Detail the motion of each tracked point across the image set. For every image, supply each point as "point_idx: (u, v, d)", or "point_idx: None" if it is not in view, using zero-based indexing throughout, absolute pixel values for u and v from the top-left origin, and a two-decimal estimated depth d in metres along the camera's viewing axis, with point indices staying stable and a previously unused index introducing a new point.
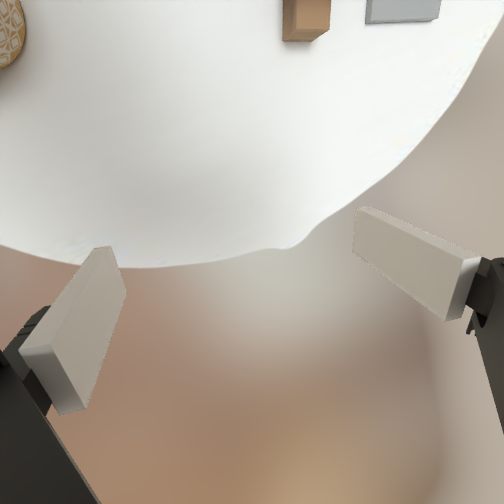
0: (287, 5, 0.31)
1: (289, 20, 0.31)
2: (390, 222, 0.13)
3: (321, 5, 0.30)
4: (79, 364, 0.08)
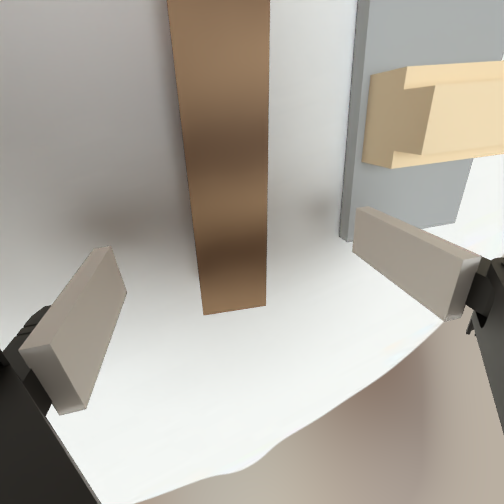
0: None
1: None
2: (390, 222, 0.13)
3: (248, 280, 0.16)
4: (79, 364, 0.08)
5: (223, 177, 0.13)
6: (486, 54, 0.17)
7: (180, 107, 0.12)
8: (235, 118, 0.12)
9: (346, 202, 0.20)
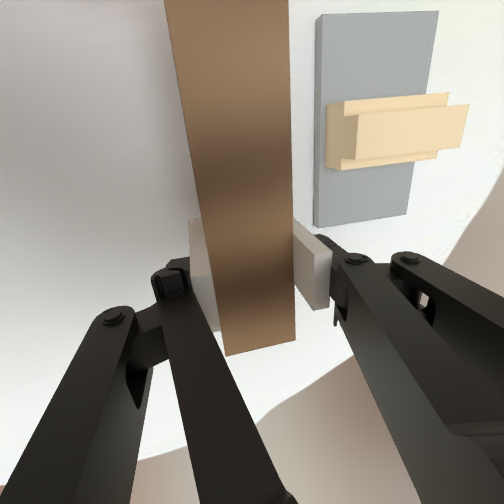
0: None
1: None
2: None
3: (274, 314, 0.14)
4: None
5: (241, 202, 0.11)
6: (412, 88, 0.24)
7: (187, 125, 0.10)
8: (252, 133, 0.10)
9: (316, 197, 0.26)
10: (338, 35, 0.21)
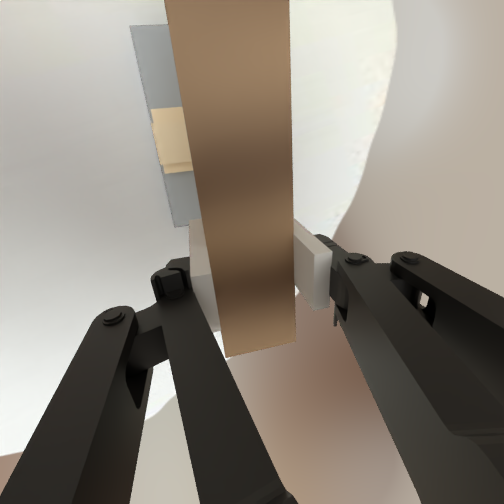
0: None
1: None
2: None
3: (275, 315, 0.14)
4: None
5: (241, 203, 0.11)
6: None
7: (187, 126, 0.10)
8: (253, 134, 0.10)
9: None
10: (150, 45, 0.22)
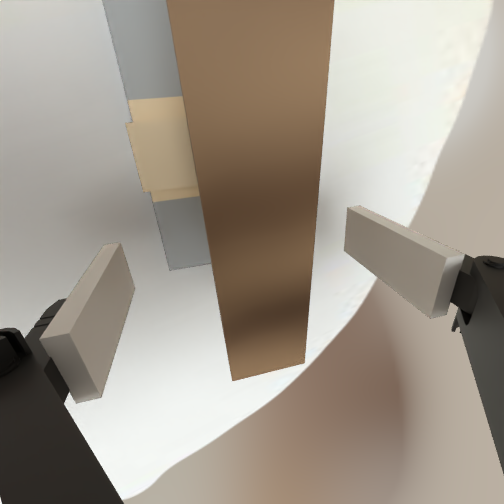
0: None
1: (223, 330, 0.15)
2: (379, 221, 0.13)
3: (285, 342, 0.13)
4: (94, 354, 0.09)
5: (256, 239, 0.10)
6: None
7: (195, 158, 0.08)
8: (274, 164, 0.08)
9: None
10: None
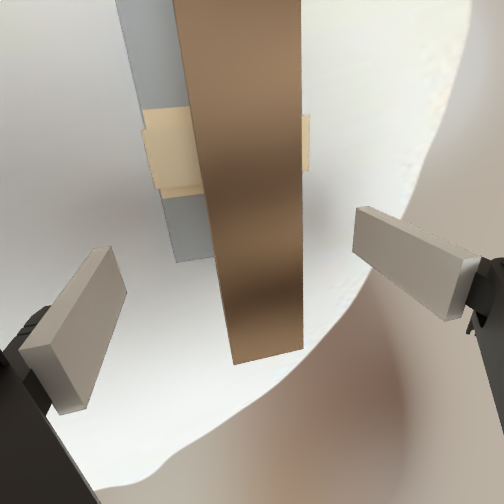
0: (220, 289, 0.16)
1: (225, 318, 0.16)
2: (390, 222, 0.13)
3: (282, 323, 0.14)
4: (79, 364, 0.08)
5: (251, 214, 0.11)
6: None
7: (198, 139, 0.10)
8: (263, 146, 0.10)
9: None
10: (143, 21, 0.16)
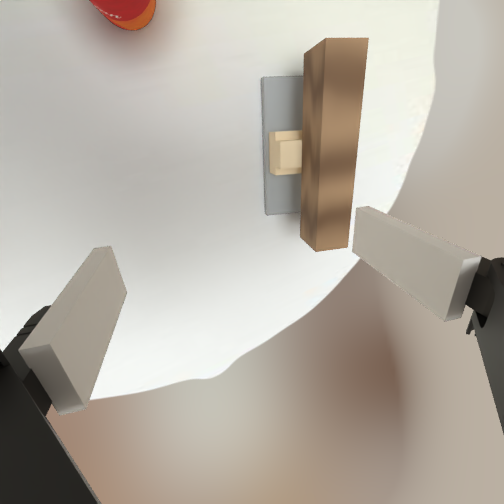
0: (306, 219, 0.33)
1: (308, 234, 0.33)
2: (390, 222, 0.13)
3: (340, 231, 0.31)
4: (79, 364, 0.08)
5: (334, 177, 0.28)
6: None
7: (321, 146, 0.26)
8: (343, 150, 0.27)
9: (265, 193, 0.38)
10: (274, 89, 0.33)
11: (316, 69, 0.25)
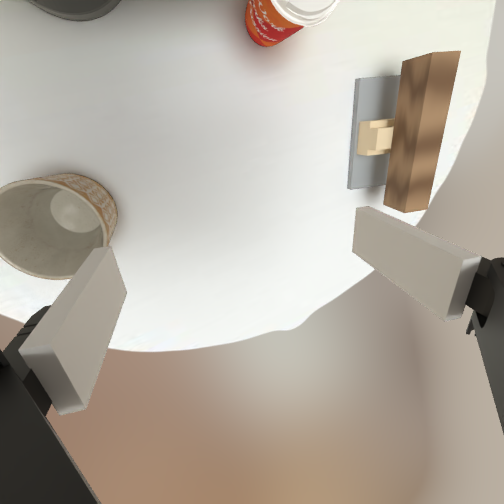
0: (393, 189, 0.42)
1: (395, 200, 0.42)
2: (390, 222, 0.13)
3: (423, 196, 0.40)
4: (79, 364, 0.08)
5: (425, 154, 0.37)
6: None
7: (418, 131, 0.36)
8: (433, 133, 0.36)
9: (350, 171, 0.47)
10: (367, 87, 0.42)
11: (417, 74, 0.34)
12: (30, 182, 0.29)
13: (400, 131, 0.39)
